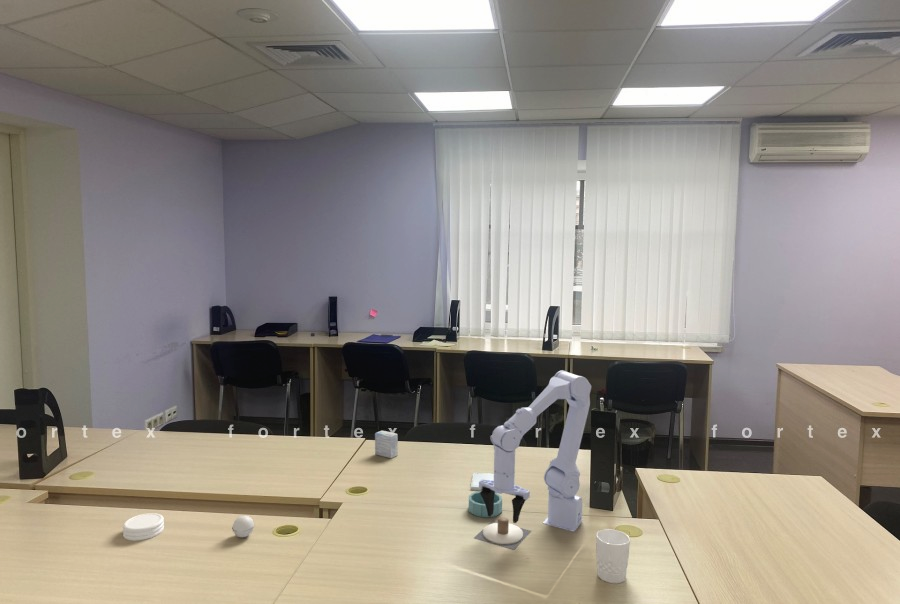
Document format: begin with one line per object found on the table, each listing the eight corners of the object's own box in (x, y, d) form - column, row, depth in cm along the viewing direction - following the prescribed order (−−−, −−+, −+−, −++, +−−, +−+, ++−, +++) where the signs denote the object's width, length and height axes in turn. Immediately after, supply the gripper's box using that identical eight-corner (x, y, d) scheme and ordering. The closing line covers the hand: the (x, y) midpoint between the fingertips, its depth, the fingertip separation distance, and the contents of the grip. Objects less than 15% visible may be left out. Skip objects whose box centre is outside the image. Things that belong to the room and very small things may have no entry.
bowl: (507, 509, 176) (507, 495, 175) (492, 522, 167) (493, 508, 167) (478, 502, 181) (478, 488, 180) (462, 514, 172) (462, 500, 172)
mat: (531, 532, 161) (531, 530, 161) (514, 551, 151) (514, 549, 151) (492, 522, 167) (492, 520, 167) (473, 539, 157) (473, 537, 157)
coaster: (165, 521, 165) (165, 510, 165) (162, 538, 156) (161, 525, 156) (126, 527, 161) (126, 515, 161) (120, 544, 152) (119, 531, 152)
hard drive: (473, 472, 202) (470, 486, 189) (496, 473, 201) (495, 487, 189) (473, 476, 202) (470, 491, 190) (496, 478, 201) (495, 492, 189)
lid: (528, 531, 161) (529, 516, 160) (513, 548, 151) (513, 533, 151) (493, 521, 166) (493, 507, 166) (476, 537, 157) (476, 523, 156)
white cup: (622, 567, 144) (623, 528, 143) (633, 585, 136) (634, 544, 135) (591, 567, 144) (592, 528, 143) (600, 585, 136) (601, 545, 135)
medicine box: (398, 455, 220) (398, 433, 220) (390, 459, 217) (391, 436, 216) (382, 451, 225) (382, 430, 224) (374, 454, 221) (374, 432, 220)
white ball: (232, 533, 159) (231, 513, 158) (253, 530, 161) (253, 510, 160) (232, 546, 151) (231, 526, 151) (255, 543, 153) (254, 522, 153)
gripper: (474, 469, 157) (473, 517, 159) (523, 480, 150) (521, 530, 151) (485, 461, 163) (484, 507, 165) (533, 472, 156) (531, 520, 157)
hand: (502, 518), depth 158 cm, fingers open, 7 cm apart
